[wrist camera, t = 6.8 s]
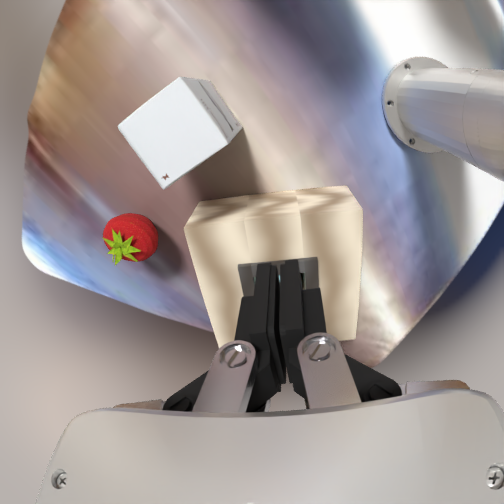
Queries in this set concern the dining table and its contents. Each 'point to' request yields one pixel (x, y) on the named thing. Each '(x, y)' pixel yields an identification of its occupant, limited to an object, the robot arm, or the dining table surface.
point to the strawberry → (130, 237)
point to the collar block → (279, 251)
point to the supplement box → (180, 128)
